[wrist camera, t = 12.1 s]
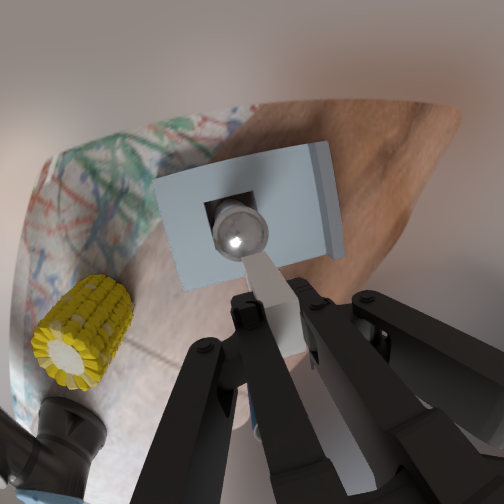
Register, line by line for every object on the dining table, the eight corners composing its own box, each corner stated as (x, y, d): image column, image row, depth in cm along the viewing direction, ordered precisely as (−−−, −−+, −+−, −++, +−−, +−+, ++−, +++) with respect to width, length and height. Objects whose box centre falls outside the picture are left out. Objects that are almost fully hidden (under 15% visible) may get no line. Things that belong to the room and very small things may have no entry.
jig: (186, 282, 38) (183, 300, 33) (155, 178, 34) (147, 181, 29) (328, 244, 40) (345, 256, 35) (311, 143, 35) (327, 140, 30)
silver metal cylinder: (216, 241, 37) (220, 267, 28) (206, 201, 35) (206, 215, 26) (256, 230, 38) (273, 253, 28) (247, 191, 36) (262, 201, 26)
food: (147, 311, 40) (93, 326, 40) (109, 245, 34) (53, 266, 34) (136, 400, 27) (72, 407, 27) (71, 331, 21) (9, 345, 21)
